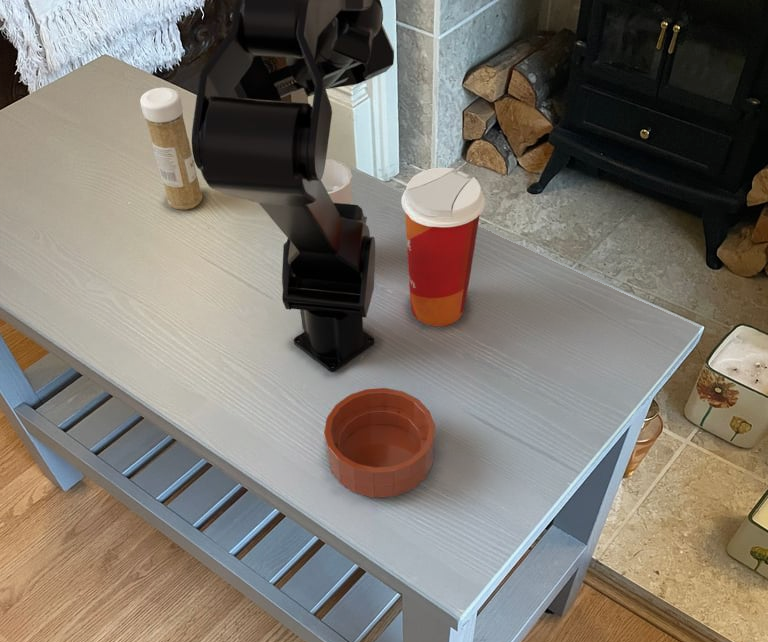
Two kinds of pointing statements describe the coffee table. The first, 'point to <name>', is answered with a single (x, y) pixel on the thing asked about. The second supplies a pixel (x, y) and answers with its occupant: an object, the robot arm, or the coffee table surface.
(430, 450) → the bowl
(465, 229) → the coffee cup
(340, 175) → the cup
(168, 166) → the sprinkles bottle
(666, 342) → the coffee table surface
